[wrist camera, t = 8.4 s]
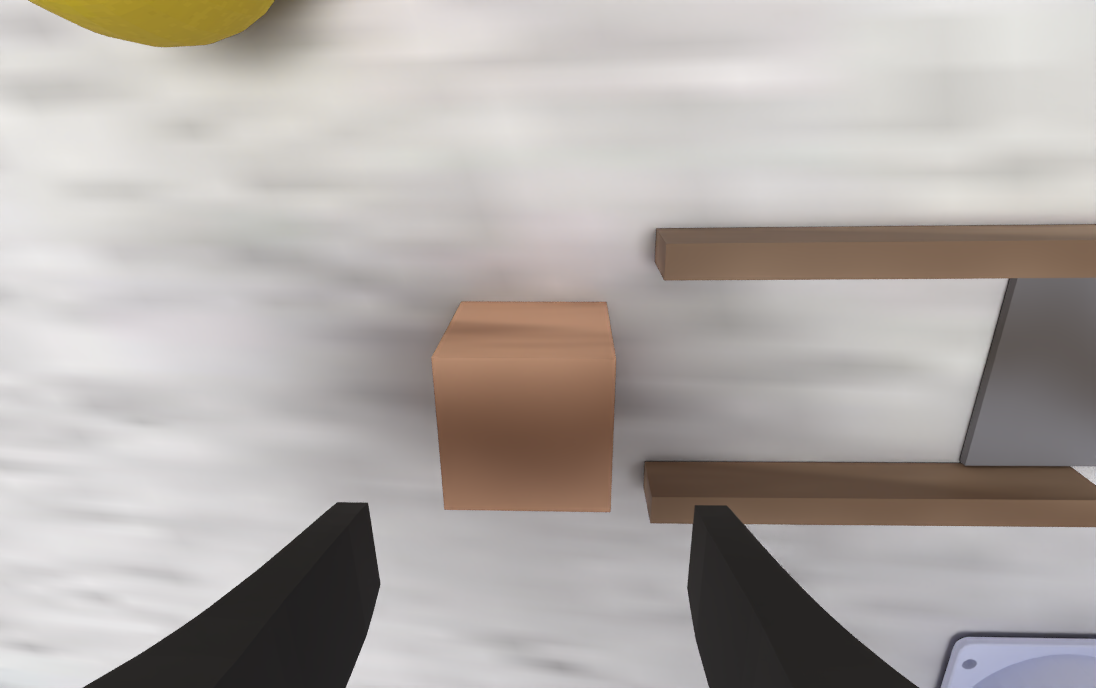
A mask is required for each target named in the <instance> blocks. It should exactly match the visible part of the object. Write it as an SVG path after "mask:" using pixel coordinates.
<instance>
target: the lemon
mask: <svg viewBox="0 0 1096 688" xmlns="http://www.w3.org/2000/svg"><path fill="white" fill-rule="evenodd" d="M29 1H30V2H32V3H34V4H36V5H38V6H40V7H42V8H44V9H46V10H48V11H50V12H52V13H54V14H56V15H58V16H60V17H62V18H64V19H67V20H69V21H71V22H73V23H75V24H77V25H79V26H81V27H83V28H86V29H88V30H91V31H93V32H96V33H99V34H102V35H105V36H108V37H113V38H117V39H122V40H126V41H131V42H136V43H140V44H145V45H150V46H155V47H179V46H196V45H207V44H211V43H214V42H217V41H220V40H222V39H225V38H227V37H230V36H233V35H235V34H238V33H240V32H242V31H244V30H245V29H247V28H248V27H249V26H250V25H252V24H253V23H254V22H255V21H257V20H258V19H259V18H260V17H262V16H263V15H264V14H265V13H266V12H267V11H268V9H269V8H270V6H271V5H272V4H273V2H274V1H275V0H29Z"/></svg>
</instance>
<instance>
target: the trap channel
mask: <svg viewBox="0 0 1096 688" xmlns="http://www.w3.org/2000/svg"><path fill="white" fill-rule="evenodd" d="M655 263H656V265H657V267H658V269H659V271H660V273H661V275H662V277H663V279H664V280H811V279H973V278H1010V280H1009V284H1008V288H1007V291H1006V295H1005V298H1004V302H1003V306H1002V309H1001V313H1000V316H999V320H998V324H997V327H996V331H995V335H994V338H993V342H992V345H991V349H990V353H989V356H988V360H987V363H986V367H985V371H984V374H983V378H982V382H981V385H980V389H979V392H978V396H977V400H976V403H975V407H974V410H973V414H972V418H971V421H970V425H969V429H968V432H967V436H966V439H965V443H964V447H963V450H962V454H961V457H960V461H961V462H962V463H830V462H645V465H644V485H643V486H644V492H645V497H646V502H647V508H648V513H649V519H650V523H680V524H693V519H694V508H695V505H727V506H728V507H729V508H730V509H731V510H732V511H733V513H734V514H735V515H736V516H737V517H738V518H739V519H740V521H741V522H742V523H743V524H794V525H908V526H1021V527H1096V485H1095V484H1093V483H1092V482H1090V481H1089V480H1088V479H1086V478H1085V477H1084V476H1082V475H1081V474H1080V473H1078V472H1077V471H1076V470H1074V469H1073V468H1072V467H1070V466H1096V224H1076V225H969V226H862V227H756V228H656V247H655Z"/></svg>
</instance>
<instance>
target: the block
mask: <svg viewBox="0 0 1096 688" xmlns="http://www.w3.org/2000/svg"><path fill="white" fill-rule="evenodd" d="M431 359H432V370H433V382H434V394H435V405H436V417H437V428H438V440H439V452H440V463H441V475H442V486H443V498H444V509H445V510H502V511H566V512H610V510H611V483H612V457H613V430H614V403H615V376H616V355H615V349H614V344H613V338H612V332H611V326H610V320H609V315H608V309H607V303H606V302H461V303H460V305H459V307H458V309H457V311H456V313H455V314H454V316H453V318H452V320H451V322H450V324H449V326H448V328H447V329H446V331H445V333H444V335H443V337H442V339H441V341H440V343H439V344H438V346H437V348H436V350H435V352H434V354H433V356H432V357H431Z"/></svg>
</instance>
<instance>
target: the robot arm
mask: <svg viewBox="0 0 1096 688" xmlns="http://www.w3.org/2000/svg"><path fill="white" fill-rule="evenodd" d="M379 588H380V578H379V572H378V565H377V559H376V552H375V546H374V539H373V533H372V526H371V519H370V513H369V506H368V503H347V502H337V503H336V504H335V505H334V506H332V507H331V508H330V509H329V510H328V511H326V512H325V513H324V514H323V515H322V516H320V517H319V518H318V519H317V520H316V521H315V522H313V523H312V524H311V525H310V526H309V527H308V528H307V529H305V530H304V531H303V532H302V533H301V534H300V535H298V536H297V537H296V538H295V539H294V540H293V541H291V542H290V543H289V544H288V545H287V546H286V547H284V548H283V549H282V550H281V551H280V552H278V553H277V554H276V555H275V556H274V557H272V558H271V559H270V560H269V561H268V562H266V563H265V564H264V565H263V566H262V567H261V568H259V569H258V570H257V571H256V572H254V573H253V574H252V575H250V576H249V577H248V578H247V579H245V580H244V581H243V582H241V583H240V584H239V585H238V586H236V587H235V588H234V589H232V590H231V591H230V592H228V593H227V594H226V595H225V596H223V597H222V598H221V599H219V600H218V601H217V602H215V603H214V604H213V605H212V606H210V607H209V608H208V609H206V610H205V611H203V612H202V613H201V614H199V615H198V616H197V617H195V618H194V619H192V620H191V621H189V622H188V623H186V624H185V625H184V626H182V627H181V628H179V629H178V630H176V631H175V632H173V633H172V634H170V635H169V636H167V637H166V638H164V639H163V640H161V641H160V642H158V643H156V644H155V645H153V646H152V647H150V648H149V649H147V650H146V651H144V652H142V653H141V654H139V655H138V656H136V657H134V658H133V659H131V660H129V661H127V662H126V663H124V664H122V665H121V666H119V667H117V668H115V669H114V670H112V671H110V672H109V673H107V674H105V675H104V676H102V677H100V678H98V679H97V680H95V681H93V682H92V683H90V684H88V685H86V686H85V687H83V688H346V685H347V683H348V681H349V678H350V676H351V673H352V671H353V668H354V666H355V663H356V661H357V658H358V656H359V653H360V651H361V648H362V646H363V643H364V641H365V638H366V635H367V632H368V629H369V625H370V622H371V618H372V615H373V611H374V607H375V603H376V599H377V596H378V592H379ZM687 589H688V596H689V602H690V608H691V615H692V620H693V626H694V632H695V638H696V642H697V646H698V649H699V653H700V657H701V660H702V664H703V667H704V671H705V674H706V678H707V681H708V685H709V688H919V687H917V686H916V685H915V684H913V683H912V682H910V681H909V680H908V679H906V678H905V677H904V676H902V675H901V674H900V673H899V672H897V671H896V670H895V669H893V668H892V667H891V666H889V665H888V664H887V663H886V662H884V661H883V660H882V659H881V658H880V657H878V656H877V655H876V654H875V653H873V652H872V651H871V650H870V649H869V648H867V647H866V646H865V645H864V644H862V643H861V642H860V641H859V640H858V639H856V638H855V637H854V636H853V635H852V634H850V633H849V632H848V631H847V630H846V629H845V628H844V627H842V626H841V625H840V624H839V623H838V622H837V621H836V620H835V619H834V618H833V617H832V616H830V615H829V614H828V613H827V612H826V611H825V610H824V609H823V608H822V607H821V606H820V605H819V604H818V603H817V602H816V601H815V600H814V599H813V598H812V597H811V596H810V595H809V594H808V593H807V592H806V591H804V590H803V589H802V587H801V586H800V585H799V584H798V583H797V582H796V581H795V580H794V579H793V578H792V577H791V576H790V575H789V574H788V573H787V572H786V571H785V570H784V569H783V568H782V567H781V566H780V565H779V563H778V562H777V561H776V560H775V559H774V558H773V557H772V556H771V555H770V554H769V552H768V551H767V550H766V549H765V548H764V547H763V546H762V545H761V544H760V542H759V541H758V540H757V539H756V538H755V537H754V536H753V534H752V533H751V532H750V531H749V530H748V529H747V528H746V526H745V525H744V524H743V523H742V522H741V521H740V519H739V518H738V517H737V516H736V515H735V514H734V513H733V511H732V510H731V509H730V508H729V507H728V506H727V505H695V508H694V519H693V530H692V541H691V552H690V564H689V575H688V586H687ZM941 688H1096V639H1075V638H1010V637H964V638H962V639H959V640H958V641H957V642H956V643H955V645H954V647H953V650H952V653H951V656H950V659H949V663H948V666H947V669H946V672H945V675H944V679H943V682H942V685H941Z"/></svg>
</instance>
